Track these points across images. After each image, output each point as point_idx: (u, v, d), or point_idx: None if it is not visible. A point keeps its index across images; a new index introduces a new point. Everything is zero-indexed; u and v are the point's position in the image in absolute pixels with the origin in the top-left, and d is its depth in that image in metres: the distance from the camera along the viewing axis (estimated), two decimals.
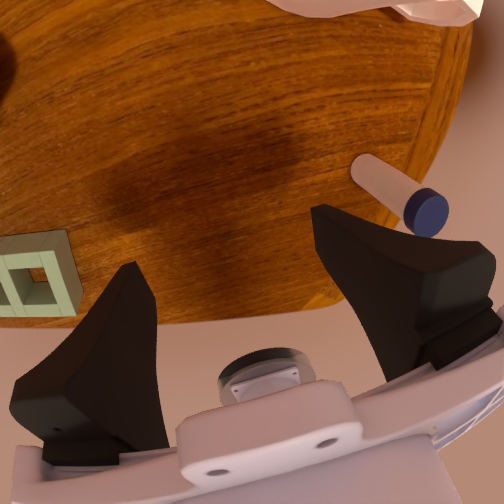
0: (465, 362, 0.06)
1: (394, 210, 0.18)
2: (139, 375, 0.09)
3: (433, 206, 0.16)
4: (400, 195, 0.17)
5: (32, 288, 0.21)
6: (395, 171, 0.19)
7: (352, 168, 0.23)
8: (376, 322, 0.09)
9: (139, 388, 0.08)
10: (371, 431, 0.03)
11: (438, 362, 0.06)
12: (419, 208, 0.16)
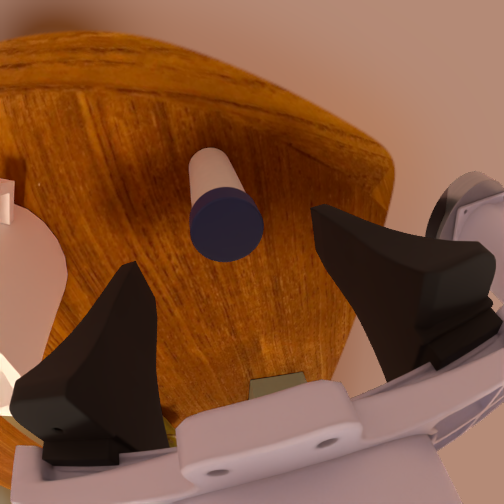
0: (465, 362, 0.06)
1: None
2: (139, 375, 0.09)
3: (208, 238, 0.12)
4: None
5: None
6: None
7: None
8: (376, 322, 0.09)
9: (139, 388, 0.08)
10: (371, 431, 0.03)
11: (438, 362, 0.06)
12: (212, 259, 0.13)
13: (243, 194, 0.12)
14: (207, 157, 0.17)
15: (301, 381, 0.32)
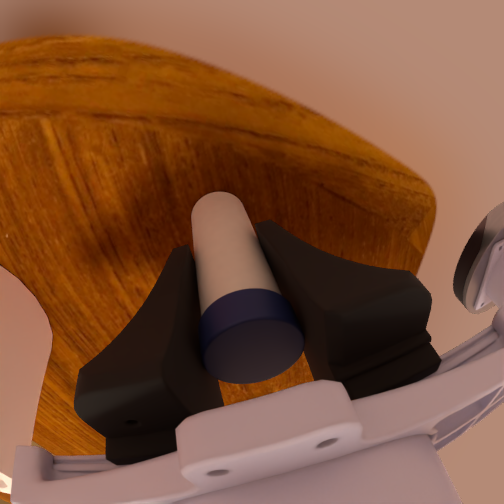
0: (465, 362, 0.06)
1: None
2: None
3: (227, 363, 0.08)
4: None
5: None
6: None
7: None
8: (308, 348, 0.09)
9: (206, 373, 0.09)
10: (371, 431, 0.03)
11: (438, 362, 0.06)
12: (232, 382, 0.09)
13: (278, 302, 0.08)
14: (216, 212, 0.13)
15: None
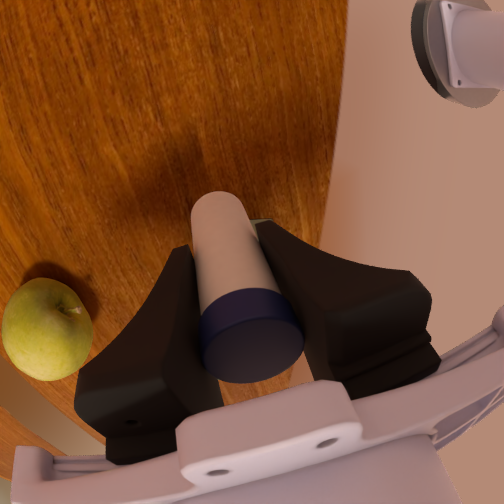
0: (465, 362, 0.06)
1: None
2: None
3: (227, 363, 0.08)
4: None
5: None
6: None
7: None
8: (308, 348, 0.09)
9: (206, 373, 0.09)
10: (371, 431, 0.03)
11: (438, 362, 0.06)
12: (232, 382, 0.09)
13: (278, 301, 0.08)
14: (216, 211, 0.13)
15: None
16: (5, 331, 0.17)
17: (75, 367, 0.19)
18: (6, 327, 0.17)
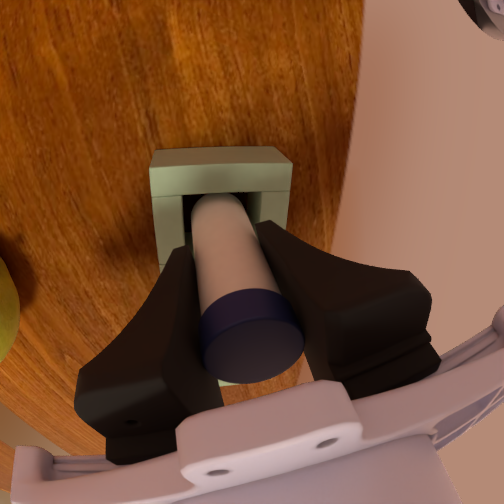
0: (465, 362, 0.06)
1: None
2: None
3: (227, 364, 0.08)
4: None
5: None
6: None
7: None
8: (308, 348, 0.09)
9: (206, 373, 0.09)
10: (371, 431, 0.03)
11: (438, 362, 0.06)
12: (232, 382, 0.09)
13: (278, 302, 0.08)
14: (216, 212, 0.13)
15: (270, 152, 0.14)
16: None
17: None
18: None
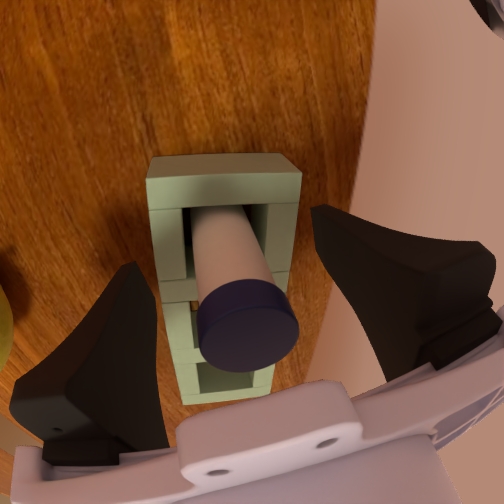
0: (465, 362, 0.06)
1: None
2: (139, 375, 0.09)
3: (224, 352, 0.09)
4: None
5: None
6: None
7: None
8: (376, 322, 0.09)
9: (139, 388, 0.08)
10: (371, 431, 0.03)
11: (438, 362, 0.06)
12: (229, 371, 0.09)
13: (272, 292, 0.09)
14: (214, 208, 0.13)
15: (277, 160, 0.13)
16: None
17: None
18: None
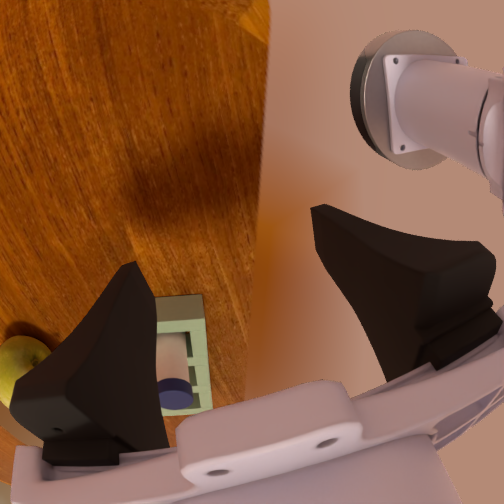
0: (465, 362, 0.06)
1: None
2: (139, 375, 0.09)
3: (164, 403, 0.21)
4: None
5: (191, 338, 0.28)
6: None
7: None
8: (376, 322, 0.09)
9: (139, 388, 0.08)
10: (371, 431, 0.03)
11: (438, 362, 0.06)
12: (168, 409, 0.21)
13: (180, 384, 0.21)
14: None
15: (196, 304, 0.25)
16: None
17: None
18: None
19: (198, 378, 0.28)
